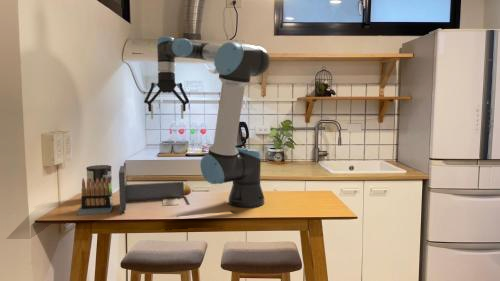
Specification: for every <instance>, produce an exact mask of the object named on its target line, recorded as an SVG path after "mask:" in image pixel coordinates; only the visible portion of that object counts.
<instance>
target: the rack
mask: <svg viewBox="0 0 500 281" xmlns="http://www.w3.org/2000/svg"><path fill="white" fill-rule="evenodd" d="M126 166H127V165H120V166H119V170H118V184H119V186H118V191H119V192H118V193H119V214H120V215H123V214H125V211H126V210H127V202H140V201H155V200H163V199H175V198H178V199H183V200H185V203H186V205H190V202H189V200H188V198H187V197H186V196H187V195H184V185H183V183H184V181H170V182H167V181H166V182H150V183H133V184H127V171H126V170H127V169H126V168H127V167H126Z"/></svg>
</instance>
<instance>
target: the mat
mask: <svg viewBox="0 0 500 281" xmlns="http://www.w3.org/2000/svg"><path fill="white" fill-rule="evenodd" d="M100 204H101V202H100ZM110 205H111V207H110V208H93V209H81V206H80V207H79V209H78V211H77V213H76V216H86V215H87V216H88V215H100V214H111V213H112V211H113V210H112V209H113V205H114V202H110Z"/></svg>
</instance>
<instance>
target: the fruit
mask: <svg viewBox="0 0 500 281" xmlns="http://www.w3.org/2000/svg"><path fill="white" fill-rule="evenodd" d="M183 185H184V196H187V195H190V194H191V190H192V189H191V187H190V186H189V184H187V183H185V182H183Z"/></svg>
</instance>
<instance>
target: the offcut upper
mask: <svg viewBox="0 0 500 281" xmlns="http://www.w3.org/2000/svg"><path fill="white" fill-rule="evenodd" d="M178 199H179V198H173V199H162V204H163V207H167V206H168V207H169V206H179V204H180V203H179V200H178Z"/></svg>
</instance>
